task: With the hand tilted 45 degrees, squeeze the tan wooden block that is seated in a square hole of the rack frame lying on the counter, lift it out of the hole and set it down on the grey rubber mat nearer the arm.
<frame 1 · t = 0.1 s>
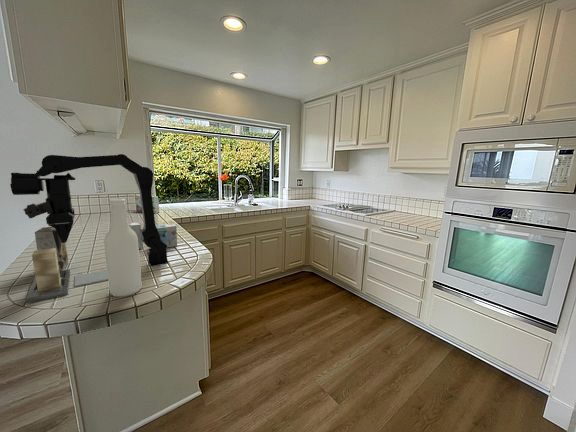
hand: (65, 239, 85), 15 cm above the countertop, tool pointing down, fingers open, 9 cm apart
snack box: (147, 212, 221), on the countertop
rack frame: (51, 287, 82), on the countertop
alcohol: (126, 291, 81), on the countertop
coffee box: (55, 269, 97), on the countertop
light bulb box: (165, 246, 128), on the countertop
tan wooden block: (50, 289, 81), resting in rack frame
mat: (93, 278, 90), on the countertop
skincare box: (136, 247, 125), on the countertop
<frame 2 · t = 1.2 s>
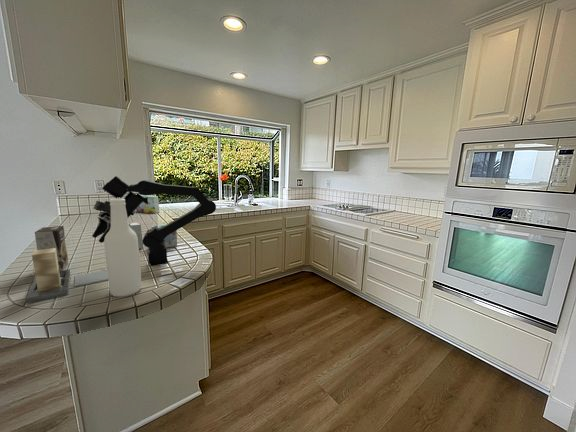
hand: (96, 239, 91), 13 cm above the countertop, tool tilted 45°, fingers open, 9 cm apart
nothing on the countertop moved.
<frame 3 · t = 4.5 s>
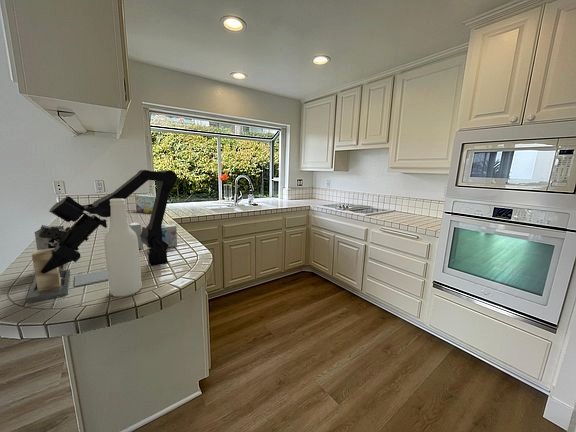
hand: (41, 270, 78), 7 cm above the countertop, tool tilted 45°, fingers closed on tan wooden block, 5 cm apart
tan wooden block: (50, 289, 81), resting in rack frame, touching gripper
everything else where it was.
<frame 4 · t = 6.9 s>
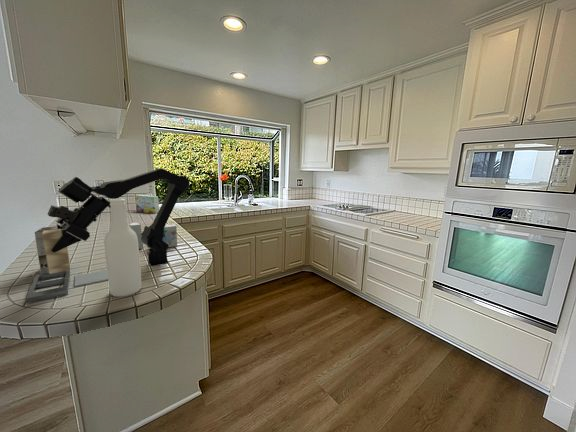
hand: (51, 249, 80), 13 cm above the countertop, tool tilted 45°, fingers closed on tan wooden block, 5 cm apart
tan wooden block: (60, 269, 82), point 6 cm above the countertop, touching gripper
everything else where it was.
when the fingers open (8 cm above the countertop, at t = 9.5 s): tan wooden block stays where it is, resting on mat.
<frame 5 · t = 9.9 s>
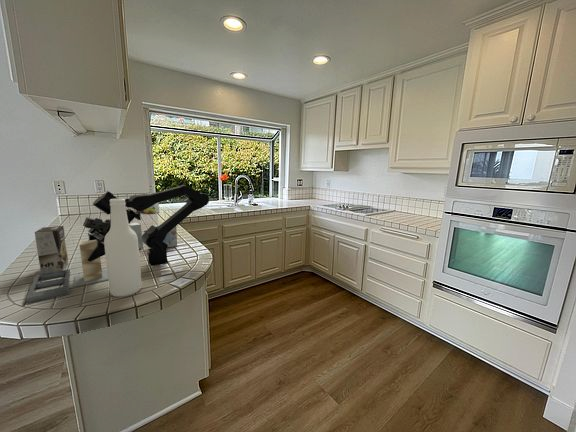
hand: (85, 257, 87), 8 cm above the countertop, tool tilted 45°, fingers open, 9 cm apart
tan wooden block: (93, 277, 90), resting on mat
everything else where it was.
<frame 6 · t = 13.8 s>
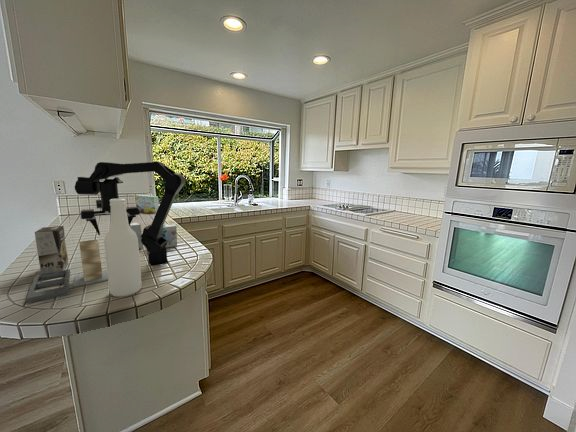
hand: (113, 233, 101), 13 cm above the countertop, tool pointing down, fingers open, 9 cm apart
nothing on the countertop moved.
at the end: tan wooden block 0.1 cm from the mat (horizontally); tan wooden block tilted 0°; the gripper is holding nothing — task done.
